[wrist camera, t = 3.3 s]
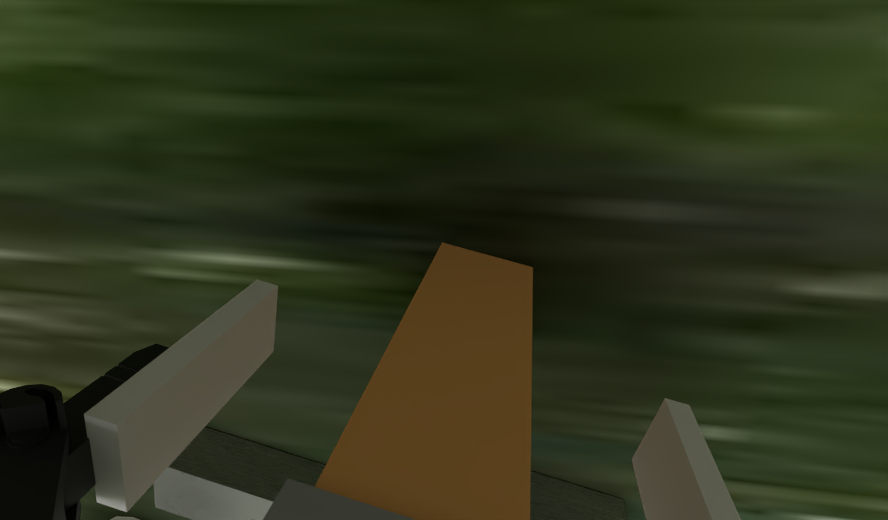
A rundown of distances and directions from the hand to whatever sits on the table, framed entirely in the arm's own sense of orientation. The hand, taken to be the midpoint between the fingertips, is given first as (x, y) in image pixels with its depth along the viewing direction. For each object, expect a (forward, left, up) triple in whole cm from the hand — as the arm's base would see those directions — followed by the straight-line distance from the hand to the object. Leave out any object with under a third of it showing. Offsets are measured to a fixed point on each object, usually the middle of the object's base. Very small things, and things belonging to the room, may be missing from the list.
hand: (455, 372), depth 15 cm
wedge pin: (0, 0, -6) cm, 6 cm away
